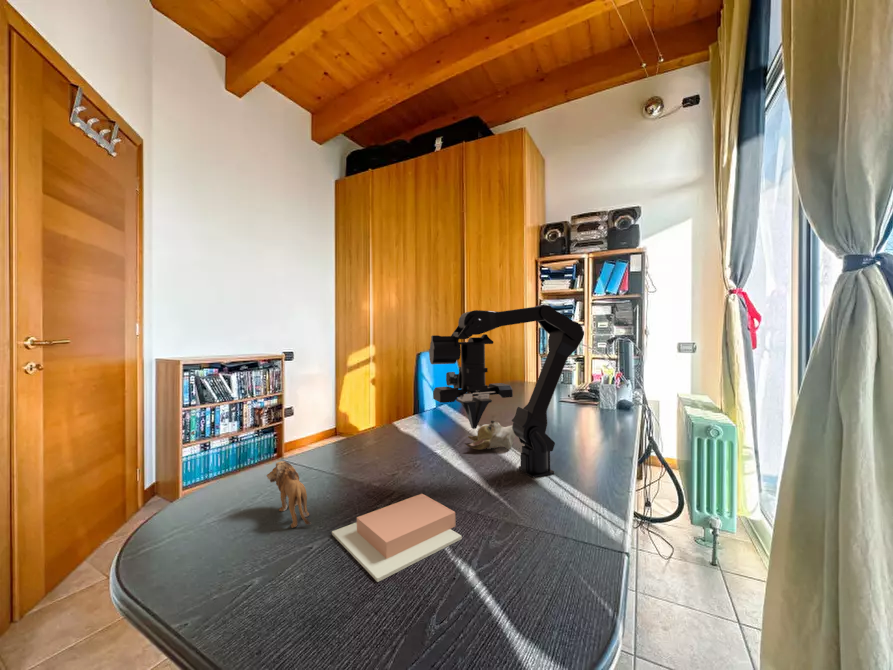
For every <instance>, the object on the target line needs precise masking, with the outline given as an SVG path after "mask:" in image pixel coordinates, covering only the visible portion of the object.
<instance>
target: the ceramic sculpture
mask: <svg viewBox="0 0 893 670" xmlns="http://www.w3.org/2000/svg"><path fill="white" fill-rule="evenodd" d="M512 426H513V424H511V425H507V426H502V425H501V424H500V422H498V421H496V420H491V421H490V422H489V423H488V424H482V425H481V426H479V428H478V430H477V435H473V436H472V435H467V436H468V437H467V438H468V439H469V440H471V441H472V442H471V443H468V444H467V445H466V447H468V448H472V449H474V450H481V451H482V450H484V449H486V448H487V449H486V450H491V448H494V449H497V448H501V447H502V448H505V449H506V450H509V449H511V448H512V446H513V443H514V441H515V439H516V435H515V434H514V431H513V429H512Z"/></svg>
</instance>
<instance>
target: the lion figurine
mask: <svg viewBox="0 0 893 670" xmlns="http://www.w3.org/2000/svg"><path fill="white" fill-rule="evenodd" d="M266 477H267V480H268V481H270V484H272V483H275V485H276V486H277V488H278V490H279V492H280V501H281V507H279V509H278V511H279V512H284V511H287V509H289V513H290V515H291V519H292V520H291V521H292V523H290V528H291V529H292V528H296V527H297V526H298V517H297V513H296V507H298V513H299V514H300V517H301V519H302V520H303V522H304V523H305V525H308V526H310V525H311V524H312V522H311V521H310V520H309V519H307V517H309V516H310V512H309V511H308V509H307V506H308V504H307V502H308V501H307V500H308V496H307V489H306V487H305V485H304V484H303V483H302V482H301V481H300V475H299V473H298V472H297V470H296V468H295V467H294V466H293V465H292V464H291V463H290V462H287V461H285V460H280V461H278V462H275V467H274V468H273V469H272V471H270V472H269V473H268V474H267V475H266ZM287 498H288V500H287ZM287 501H288V502H287Z"/></svg>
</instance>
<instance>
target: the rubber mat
mask: <svg viewBox="0 0 893 670" xmlns="http://www.w3.org/2000/svg"><path fill="white" fill-rule="evenodd" d="M331 535H332V536H333V538H335V540H337V541H338V542H339V544H341V545H342V547H343V548H345V550H346V551H347V552H348V553H349V554H350V555H351V556H352V558H354V559H355V560H356V561H357V563H358V564H359V565H361V566H362V567H363V569H364V570H365V571H366V572H367V573H368V574H369V575H370V576H371V577H372V578H373V579H374V580H375V582H377V583H379V582H381V581H383V580H385V579H387V578H388V577H391V576H393V575H394V574H396V573H399V572H400V571H402V570H404V569H406V568H408V567H410V566H411V565H414V564H416V563H418V562H420V561H421V560H423V559H426V558H428V557H429V556H431V555H434V554H435V553H437V552H440V551H442V550H443V549H445V548H448V546H451V545H453V544H454V543H456V542H459V541H461V540H462V538H463V537H462V536H463V535H461V534H459V533H458V532H456V531H454V530H453V529H452V528H451V529H449V530H447V531H444V532H442V533H440V534H438V535H436V536H434V537H432V538H430V539H428V540H426V541H423V542H421V543H419V544H417V545H415V546H413V547H411V548H409V549H407V550H404V551H402V552H400V553H398V554H396V555H394V556H392V557H390V558H388V559H386V558H385V557H384V556H383V555H382V554H381V553H380V552H379V551H377V550H376V549H375V548H374V547H373V546H372V545H371V544H370V543H369V542H368V541H366V540H365V539H364V538H363V537H362V536H361V535H360V534H359V533H358V532H357V521H356V522H354V523H351V524H349V525H345V526H342V527H340V528H338V529H334V530H332V531H331Z"/></svg>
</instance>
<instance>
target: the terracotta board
mask: <svg viewBox="0 0 893 670" xmlns="http://www.w3.org/2000/svg"><path fill="white" fill-rule="evenodd" d="M356 522H357V532H358V533H359V534H360V535H361V536H362V537H363V538H364V539H365V540H366V541H368V542H369V543H370V544H371V545H372V546H373V547H374V548H375V549H376V550H377V551H379V552H380V553H381V554H382V555H383V556H384V557H385V558H386V559H388V558H390V557H392V556H394V555H396V554H398V553H400V552H402V551H404V550H407V549H409V548H411V547H413V546H415V545H417V544H419V543H421V542H423V541H426V540H428V539H430V538H432V537H434V536H436V535H438V534H440V533H442V532H444V531H447V530H449V529H451V530H452V529H453V528H455V527H456V511H454V510H452V509H451V508H449V507H447V506H445V505H443V504H442V503H440V502H439V501H436V500H434V499H432V498H430V496H428V495H425V494H423V493H420V494H417V495H414V496H411V497H409V498H406V499H404V500H401V501H398V502H395V503H392V504H390V505H389V504H388V505H387V506H384V507H382V508H378V509H376V510H374V511H371V512H368V513H365V514H362V515H359V516H356Z"/></svg>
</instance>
